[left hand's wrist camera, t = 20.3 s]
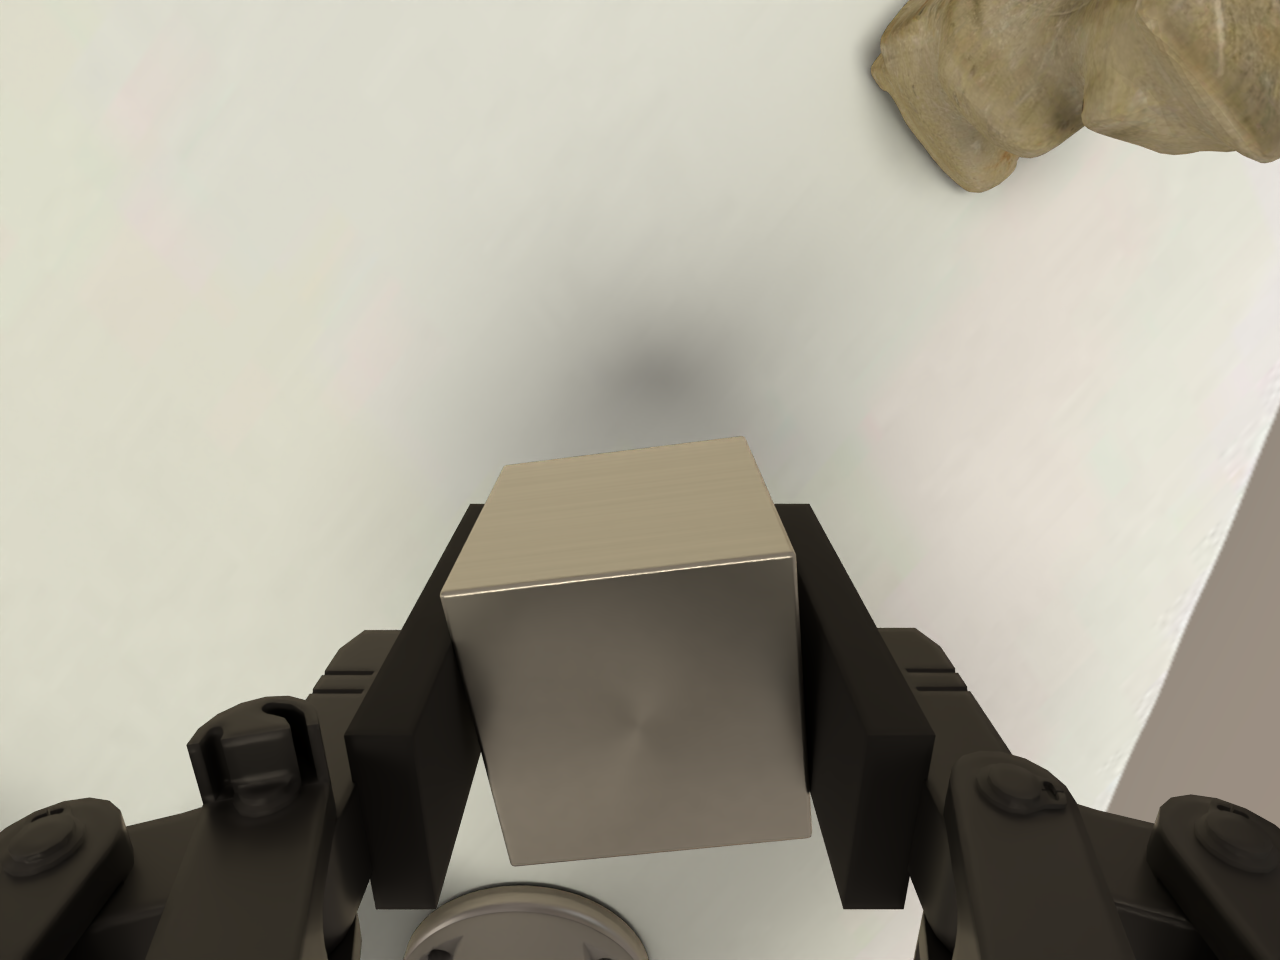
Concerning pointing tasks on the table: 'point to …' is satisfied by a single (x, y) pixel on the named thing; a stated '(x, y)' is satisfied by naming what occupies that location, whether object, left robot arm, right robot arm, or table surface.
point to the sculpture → (1082, 78)
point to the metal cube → (634, 654)
